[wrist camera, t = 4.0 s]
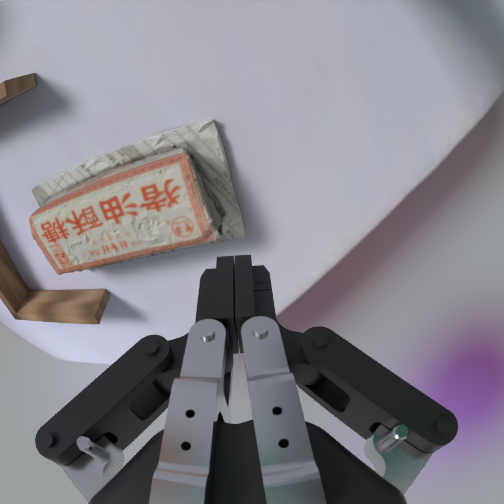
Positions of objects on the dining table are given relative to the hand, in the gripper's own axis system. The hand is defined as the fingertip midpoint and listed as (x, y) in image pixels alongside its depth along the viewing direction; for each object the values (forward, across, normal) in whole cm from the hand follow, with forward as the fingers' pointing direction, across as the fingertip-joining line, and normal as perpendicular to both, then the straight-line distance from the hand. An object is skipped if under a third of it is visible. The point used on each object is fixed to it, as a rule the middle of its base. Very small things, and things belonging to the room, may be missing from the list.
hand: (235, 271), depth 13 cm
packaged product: (+12, +9, +2) cm, 15 cm away
